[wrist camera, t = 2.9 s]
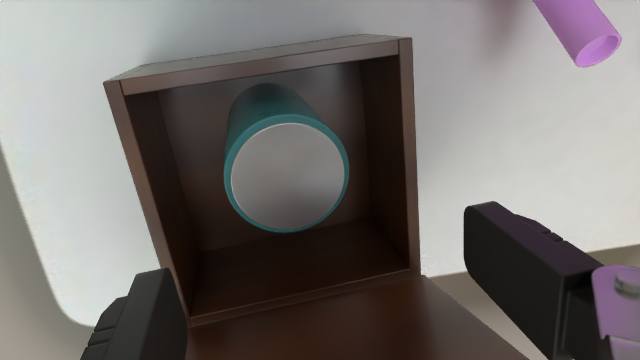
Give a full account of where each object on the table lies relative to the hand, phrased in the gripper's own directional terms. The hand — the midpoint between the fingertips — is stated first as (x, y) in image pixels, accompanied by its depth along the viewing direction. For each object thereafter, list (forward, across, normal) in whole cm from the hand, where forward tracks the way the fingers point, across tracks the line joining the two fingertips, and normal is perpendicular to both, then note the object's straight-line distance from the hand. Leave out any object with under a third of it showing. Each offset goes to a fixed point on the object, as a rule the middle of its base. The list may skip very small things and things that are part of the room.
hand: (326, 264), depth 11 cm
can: (+17, 0, 0) cm, 17 cm away
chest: (+18, 0, +2) cm, 18 cm away
